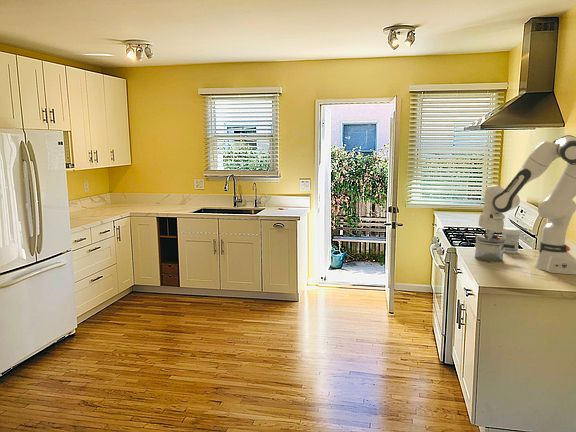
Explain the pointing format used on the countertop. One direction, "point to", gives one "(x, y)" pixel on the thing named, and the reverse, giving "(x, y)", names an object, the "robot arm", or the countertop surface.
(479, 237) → the cooker lid
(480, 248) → the cooker pot
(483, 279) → the countertop surface
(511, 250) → the supplement tub
